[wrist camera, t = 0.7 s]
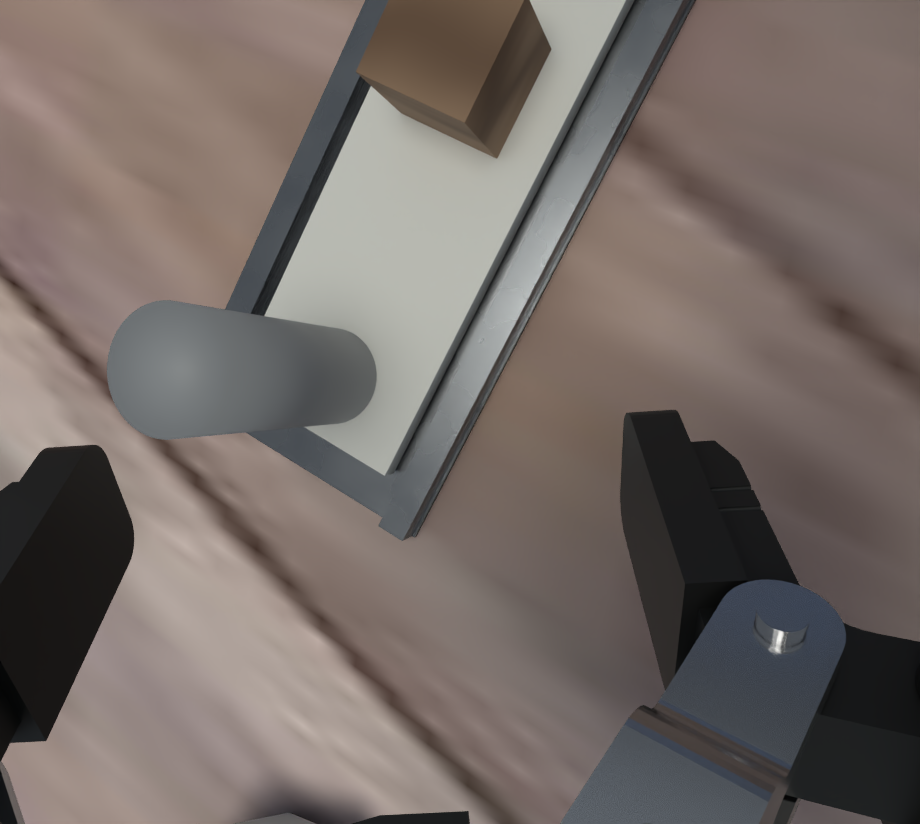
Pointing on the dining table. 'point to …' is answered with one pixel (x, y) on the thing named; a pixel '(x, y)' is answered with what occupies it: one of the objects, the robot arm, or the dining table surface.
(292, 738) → the dining table surface
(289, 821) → the die
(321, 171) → the track
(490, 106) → the walnut block
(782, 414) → the dining table surface
